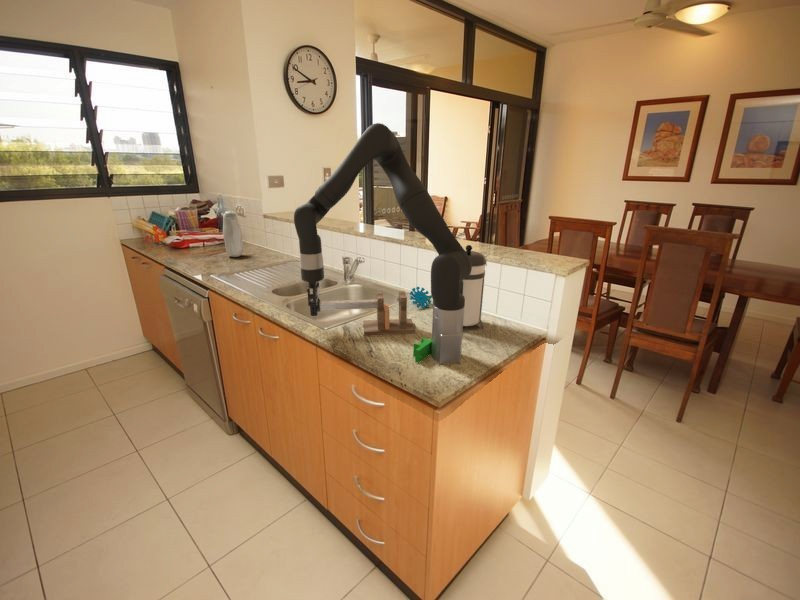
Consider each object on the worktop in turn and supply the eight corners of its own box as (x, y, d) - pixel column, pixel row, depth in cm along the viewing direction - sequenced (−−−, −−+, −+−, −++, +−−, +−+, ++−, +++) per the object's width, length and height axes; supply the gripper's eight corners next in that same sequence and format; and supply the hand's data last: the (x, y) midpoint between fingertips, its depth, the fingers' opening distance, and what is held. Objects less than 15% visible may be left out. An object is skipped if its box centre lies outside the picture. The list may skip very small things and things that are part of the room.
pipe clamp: (426, 346, 123) (427, 334, 122) (436, 350, 121) (437, 337, 120) (407, 360, 115) (408, 346, 113) (418, 363, 113) (418, 350, 111)
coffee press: (450, 313, 150) (454, 238, 140) (489, 321, 143) (496, 243, 132) (431, 328, 136) (434, 247, 126) (472, 338, 129) (479, 253, 118)
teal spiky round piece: (414, 307, 151) (408, 285, 155) (407, 313, 156) (402, 292, 160) (437, 306, 156) (430, 285, 160) (430, 312, 161) (424, 292, 165)
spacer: (389, 329, 132) (389, 310, 129) (384, 329, 132) (384, 311, 129) (387, 321, 138) (387, 303, 136) (383, 321, 138) (383, 303, 136)
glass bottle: (245, 257, 232) (239, 211, 223) (227, 259, 228) (220, 212, 218) (243, 254, 240) (236, 209, 231) (225, 255, 236) (218, 210, 226)
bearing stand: (415, 333, 132) (416, 298, 127) (364, 336, 130) (363, 300, 125) (411, 322, 141) (411, 289, 137) (363, 324, 139) (362, 290, 135)
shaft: (377, 309, 131) (377, 301, 130) (311, 311, 128) (310, 303, 127) (377, 306, 134) (377, 297, 133) (312, 308, 131) (311, 299, 130)
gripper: (321, 271, 118) (324, 318, 124) (325, 260, 131) (327, 303, 137) (297, 271, 117) (301, 319, 123) (303, 260, 130) (306, 303, 136)
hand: (315, 310), depth 130 cm, fingers open, 8 cm apart
